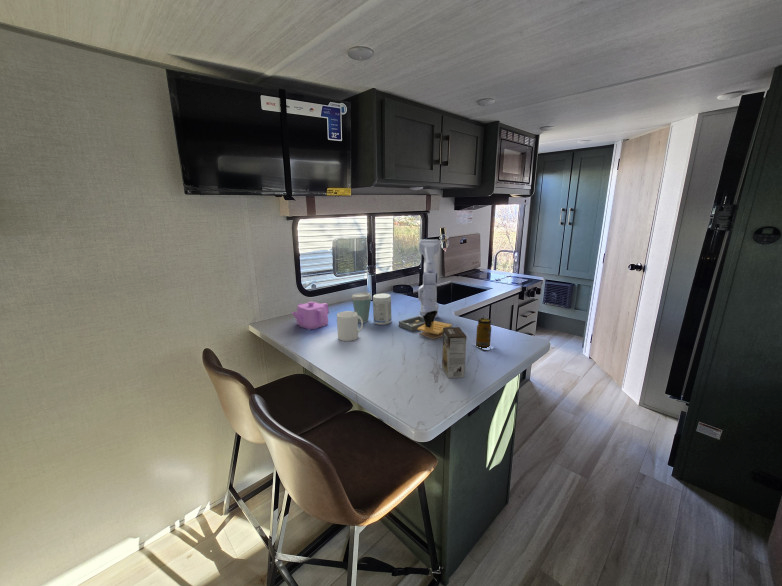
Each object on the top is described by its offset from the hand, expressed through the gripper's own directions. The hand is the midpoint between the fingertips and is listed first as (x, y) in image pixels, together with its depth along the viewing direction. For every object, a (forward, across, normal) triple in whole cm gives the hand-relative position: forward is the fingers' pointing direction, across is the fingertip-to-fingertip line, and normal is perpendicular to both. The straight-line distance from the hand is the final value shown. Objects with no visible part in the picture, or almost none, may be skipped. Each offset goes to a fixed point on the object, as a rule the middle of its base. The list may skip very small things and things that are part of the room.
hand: (429, 326), depth 154 cm
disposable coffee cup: (+5, 0, -41) cm, 41 cm away
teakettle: (+6, +19, -60) cm, 63 cm away
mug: (+5, +20, -31) cm, 37 cm away
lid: (+3, -6, 0) cm, 7 cm away
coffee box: (+5, +25, +23) cm, 35 cm away
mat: (+5, -6, +1) cm, 8 cm away
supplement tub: (+5, -4, -30) cm, 31 cm away
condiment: (+6, -3, +25) cm, 26 cm away
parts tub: (+5, -9, -13) cm, 17 cm away
